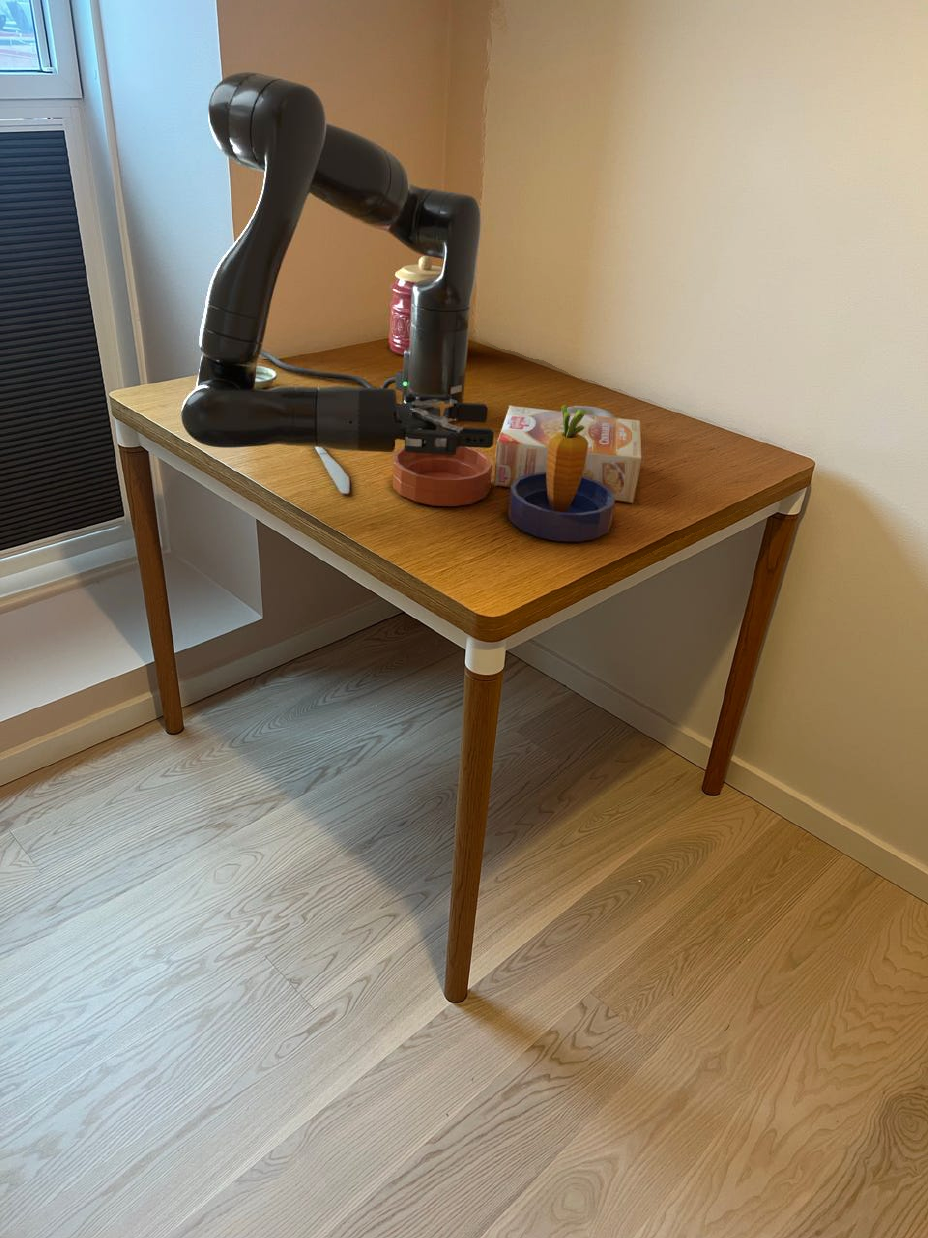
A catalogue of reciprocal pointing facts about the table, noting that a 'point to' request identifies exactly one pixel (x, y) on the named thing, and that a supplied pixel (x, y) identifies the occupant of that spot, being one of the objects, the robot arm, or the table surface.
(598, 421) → the coffeecake box
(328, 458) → the butter knife
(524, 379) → the table surface
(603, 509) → the indigo bowl
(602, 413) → the donut
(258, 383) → the saucer
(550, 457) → the carrot
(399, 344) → the kitchen canister
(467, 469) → the terracotta bowl
